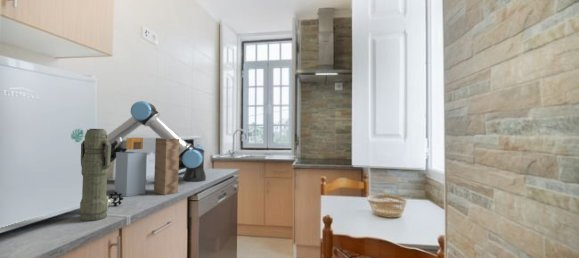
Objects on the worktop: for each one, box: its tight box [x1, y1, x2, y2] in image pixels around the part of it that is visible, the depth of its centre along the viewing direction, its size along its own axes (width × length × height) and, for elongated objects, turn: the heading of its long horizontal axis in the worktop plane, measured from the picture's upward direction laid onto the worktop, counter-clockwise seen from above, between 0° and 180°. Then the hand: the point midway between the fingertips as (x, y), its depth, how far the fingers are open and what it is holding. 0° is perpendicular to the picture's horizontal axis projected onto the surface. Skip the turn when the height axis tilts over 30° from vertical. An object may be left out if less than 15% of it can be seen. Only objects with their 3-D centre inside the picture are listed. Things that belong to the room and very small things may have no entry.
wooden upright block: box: [153, 137, 180, 196], centre depth 158 cm, size 8×10×30 cm
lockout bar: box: [114, 137, 144, 151], centre depth 156 cm, size 6×20×6 cm, turn 57°
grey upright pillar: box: [114, 150, 148, 198], centre depth 154 cm, size 10×12×22 cm
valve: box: [106, 190, 124, 213], centre depth 124 cm, size 7×7×12 cm
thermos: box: [79, 128, 111, 222], centre depth 112 cm, size 9×12×35 cm
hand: (125, 139), depth 157 cm, fingers closed on lockout bar, 4 cm apart
